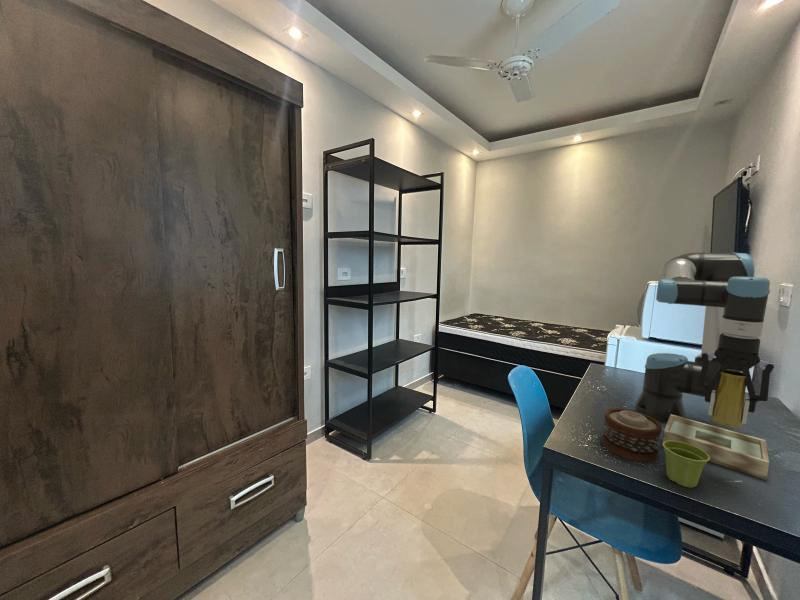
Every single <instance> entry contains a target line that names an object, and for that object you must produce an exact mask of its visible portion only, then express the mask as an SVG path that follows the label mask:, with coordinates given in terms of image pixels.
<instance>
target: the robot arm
mask: <svg viewBox="0 0 800 600" xmlns="http://www.w3.org/2000/svg"><path fill="white" fill-rule="evenodd" d="M755 273H756V272H755V264H754V259H753V257H752V256H751V255H750V254H749V253H745V252H744V253H743V252H733V251H732V252H690V253H689V252H688V253H685V254H680V255H678V256H677V255H676V256H675V257H673V258H671V259H669V260H668V261H667V262H666V263H665V264H664V266H663V269H662V276H663V277H664V279H662V278H661V279H659V280H658V282H657V288H656V290H657V291H656V296H655V299H656V301H657V302H658V303H664V304H669V305H687V306H700V307H705V309H704V312H705V313H704V321H703V322H704V323H703V332H702V343H701V352H700V354H698V355H696V356H695V357H694V361H691V360H689V358H688V357H687V356H685V355H683V354H676V353H669V352H668V353H667V352H665V353H664V352H661V353H660V352H659V353H652V354H649V355H648V356H647V357H646V360H645V361H646V362H645V365H644V368H645V370H644V376H643V385H642V391H641V392H640V394H639V396H638V397H637V399H636V401H635V405H634V411H636V412H640V413H642V414H645V415H648V416H650V417H652V418H654V419H655V420H657V421H658V422H659V423H665V424H667V422H668V420H669V417H670V415H671V414H672V415H676V416H679V417H683V418H687V414H686V413H687V412H686V409H685V407H684V402H683V394H687V395H692V396H697V397H703V398H704V402H706V403H709V408H708V413H707V415H708V416H710V417H711V416H712V412H713V406H714V402H715V398H716V394H717V388H718V381H719V379H720V378H721V372H725V371H726V369H728V370H734V371H739V372H742V373H743V375H744V376H746V379H745V383H746V389H747V393H748V396H749V397H744V407H743V417H742V425H747V420H748V413H752V414H754V413H755V411H756V405H757V402H767V401H768V399H769V389H770V388H769V387H770V376H771V374H772V371H773V370H774V369H775V365H774V363H773V362H771V361H769V362H768V361H765V360H762V359H761V358H760V356H759V352H760V346H761V339H760V337H762V334H763V329H764V327H763V326H764V320H765V314H766V310H767V304H768V299H769V295H770V293H771V290H770V284H771V281H770V279H768V278H767V277H758V276H757V277H756V276H755ZM756 365H759V368H760V370H762V371H761V377H760V378H761V379H760V381H761V382H760V390H759V391H760V392H759V394H756V391H755V388H754V384H753V383H754V382H753V379H752V376H751V371H750V369H752V368H754V367H755V366H756Z"/></svg>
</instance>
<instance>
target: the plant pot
mask: <svg viewBox="0 0 800 600" xmlns="http://www.w3.org/2000/svg"><path fill="white" fill-rule="evenodd" d="M662 443H663V446H662V447H663V449H664V452H665V465H666V466H665V467H666V477H667V478H668V479H669V481H671V480H672V481H671V482H675V483H676V484H678V485H679V486H681V485H682V486H681V487H685V488H692V489H693V487H694V488H696V487H697V486H698V484H699V481H700V478H701V475H702V472H703V470H704V467H705V466H706V465H707V463H708V462H710V461H709V460H710V456H709V455H708V454H707V453H706V452H705V451H703V450H702V449H700V448H698V447H696V446H693V445H690V444H687V443H684V442H680V441H674V440H668V441H664V442H663V441H662Z"/></svg>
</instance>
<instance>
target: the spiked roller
mask: <svg viewBox="0 0 800 600" xmlns="http://www.w3.org/2000/svg"><path fill="white" fill-rule="evenodd" d="M603 423H604V425H603V426H604V427H605V428H603V433H602V444H603V446H605V448H606V449H607V450H609V451H610V452H612V453H614V454H616V455H618V456H619V457H622V456H623V458H625V457H626V458H625V459H628V458H629V459H628V460H631V459H632V460H631V461H635V460H636V461H637V462H644V463H646V462H648V463H651V462H654V461H657V460H658V458H659V453H660V449H659V447H660V446H661V444H662V443H660V442H659V441H662V438H661V437H660V436H661V435H662V431H663V426H662V424H661V422H659V421H657V420H655V419H654V418H652V417H650V416H648V415H645V414H642V413H640V412H637V411H636V410H633V409H632V410H631V409H625V408H610V409H607V410H606V411H605V412H604V421H603Z"/></svg>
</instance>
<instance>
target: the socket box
mask: <svg viewBox="0 0 800 600" xmlns="http://www.w3.org/2000/svg"><path fill="white" fill-rule="evenodd" d="M665 425H666V426H665V428H664V430H663V437H662V443H661V444H662V447H663V442H664V441H668V440H674V441H680V442H684V443H687V444H690V445H693V446H696V447H698V448H700V449H702V450H703V451H705V452H706V453H707V454H708V455H709V456H710V460H709V461H708V462H711V463H714V464H716V465H719V466H723V467H726V468H728V469H730V470H731V469H732V470H735V471H737V472H741V473H743V474H747V475H749V476H753V477H756V478H758V479H762V480H764V481H767V479H768V473H769V467H770V458H769V454H768V447H767V442H766V439H763V438H760V437H756V436H751V435H748V434H745V433H741V432H737V431H733V430H730V429H726V428H723V427H719V426H715V425H711V424H707V423H704V422H701V421H698V420H693V419H689V418H687V417H686V418H683V417H679V416H676V415H672V414H671V415H670V417H669V420H668V422H667V423H666V424H665Z"/></svg>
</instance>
